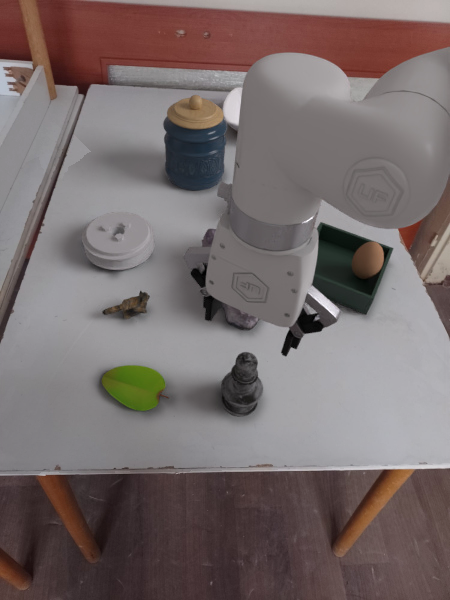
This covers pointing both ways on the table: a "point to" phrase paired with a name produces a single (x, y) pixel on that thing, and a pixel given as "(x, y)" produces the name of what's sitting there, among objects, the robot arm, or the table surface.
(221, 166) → the canister
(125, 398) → the decorative leaf
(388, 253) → the box
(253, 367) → the grey tall stone piece
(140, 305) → the cat figurine
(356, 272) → the egg
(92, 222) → the lid
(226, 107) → the bowl
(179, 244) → the table surface
